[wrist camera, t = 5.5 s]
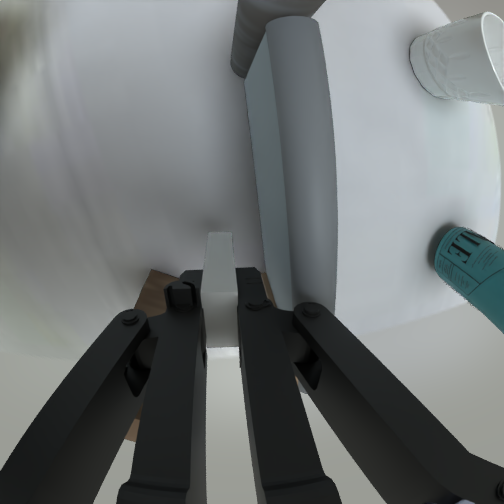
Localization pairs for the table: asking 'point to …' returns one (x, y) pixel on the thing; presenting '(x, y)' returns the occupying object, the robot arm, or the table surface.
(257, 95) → the gate panel
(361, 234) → the table surface
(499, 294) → the beverage bottle
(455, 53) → the white cup
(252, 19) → the gate frame
